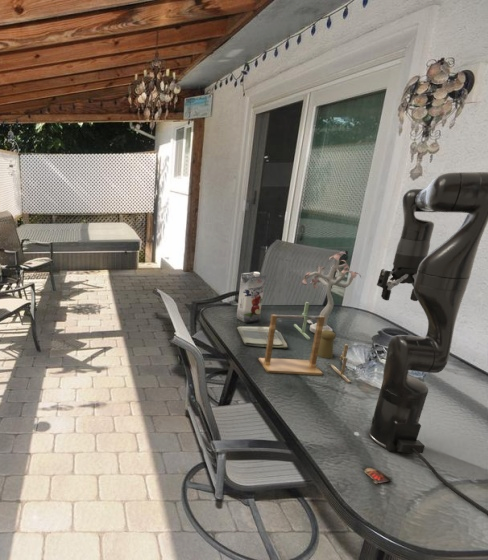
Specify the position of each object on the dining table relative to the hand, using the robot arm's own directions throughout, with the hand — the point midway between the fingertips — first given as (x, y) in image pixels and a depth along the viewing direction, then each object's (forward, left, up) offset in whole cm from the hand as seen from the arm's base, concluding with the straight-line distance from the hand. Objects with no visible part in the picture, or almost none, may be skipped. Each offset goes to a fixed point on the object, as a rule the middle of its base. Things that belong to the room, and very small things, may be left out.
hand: (399, 300), depth 117 cm
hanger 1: (+12, +22, -12) cm, 28 cm away
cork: (+24, +6, -34) cm, 42 cm away
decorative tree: (+50, -4, -34) cm, 61 cm away
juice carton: (+60, +26, -34) cm, 74 cm away
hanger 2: (+8, +8, -27) cm, 30 cm away
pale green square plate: (+37, +27, -34) cm, 57 cm away
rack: (+12, +25, -34) cm, 44 cm away
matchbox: (-42, +26, -34) cm, 60 cm away
